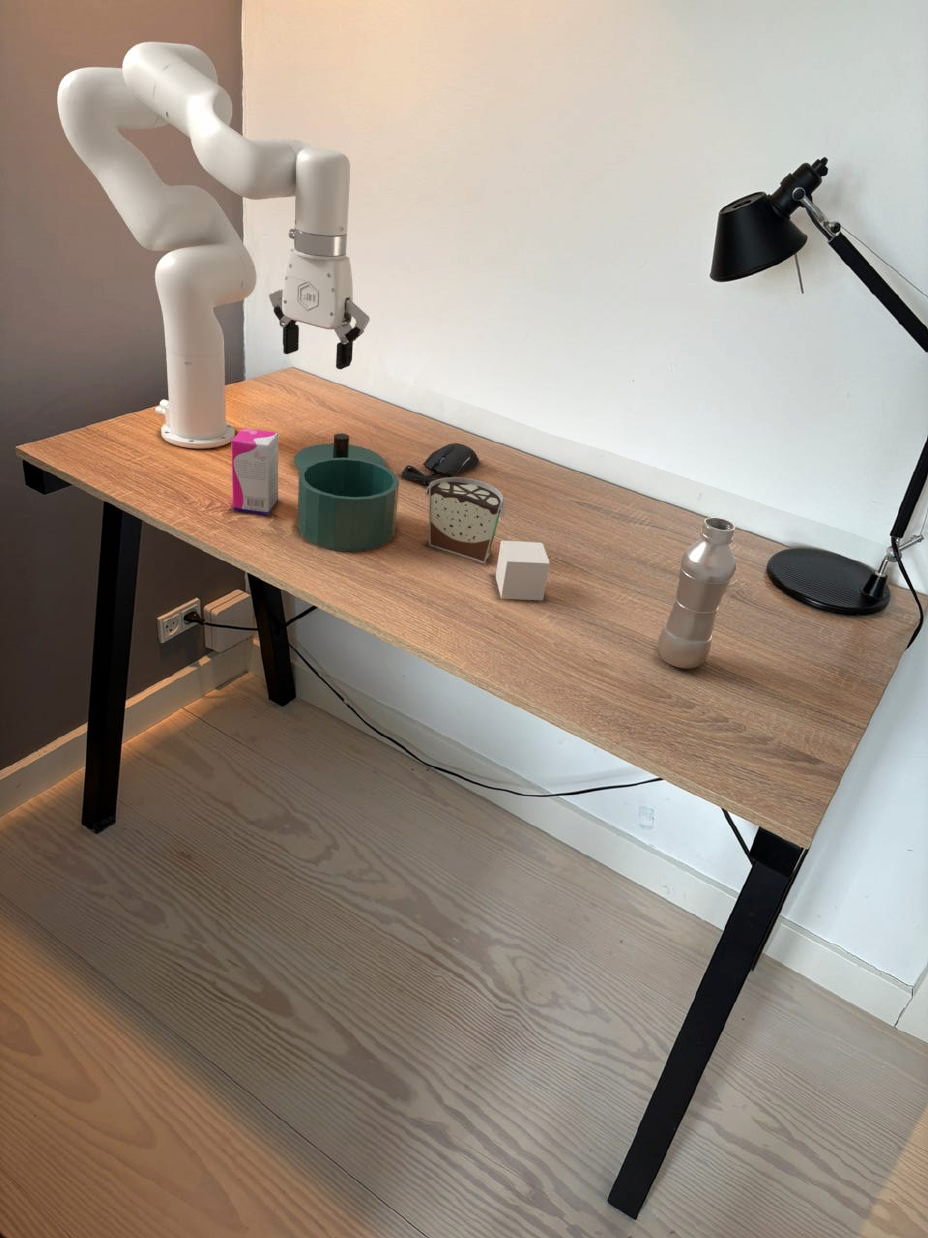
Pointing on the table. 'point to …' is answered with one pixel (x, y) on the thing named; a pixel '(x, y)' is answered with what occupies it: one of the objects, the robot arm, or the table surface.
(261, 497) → the supplement box
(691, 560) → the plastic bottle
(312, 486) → the tin
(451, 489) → the food container
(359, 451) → the tin lid
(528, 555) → the white cube
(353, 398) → the table surface
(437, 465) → the computer mouse
